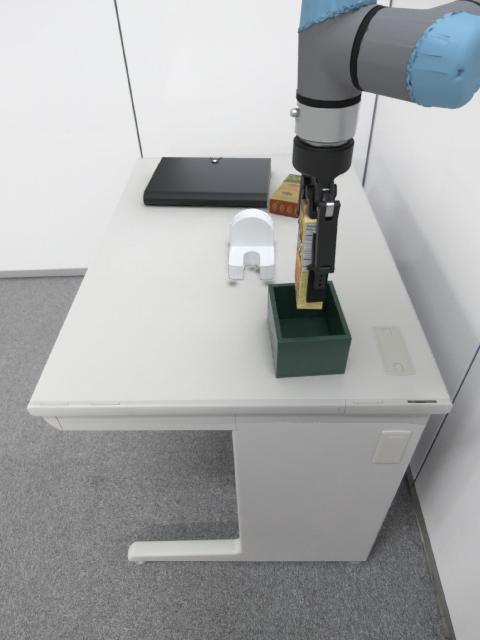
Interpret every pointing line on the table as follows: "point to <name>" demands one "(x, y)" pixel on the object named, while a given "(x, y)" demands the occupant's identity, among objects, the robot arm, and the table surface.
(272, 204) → the carton
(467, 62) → the robot arm
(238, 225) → the white plastic bracket
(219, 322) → the table surface
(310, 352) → the open storage box
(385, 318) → the table surface
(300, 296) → the candy box
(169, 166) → the file folder
